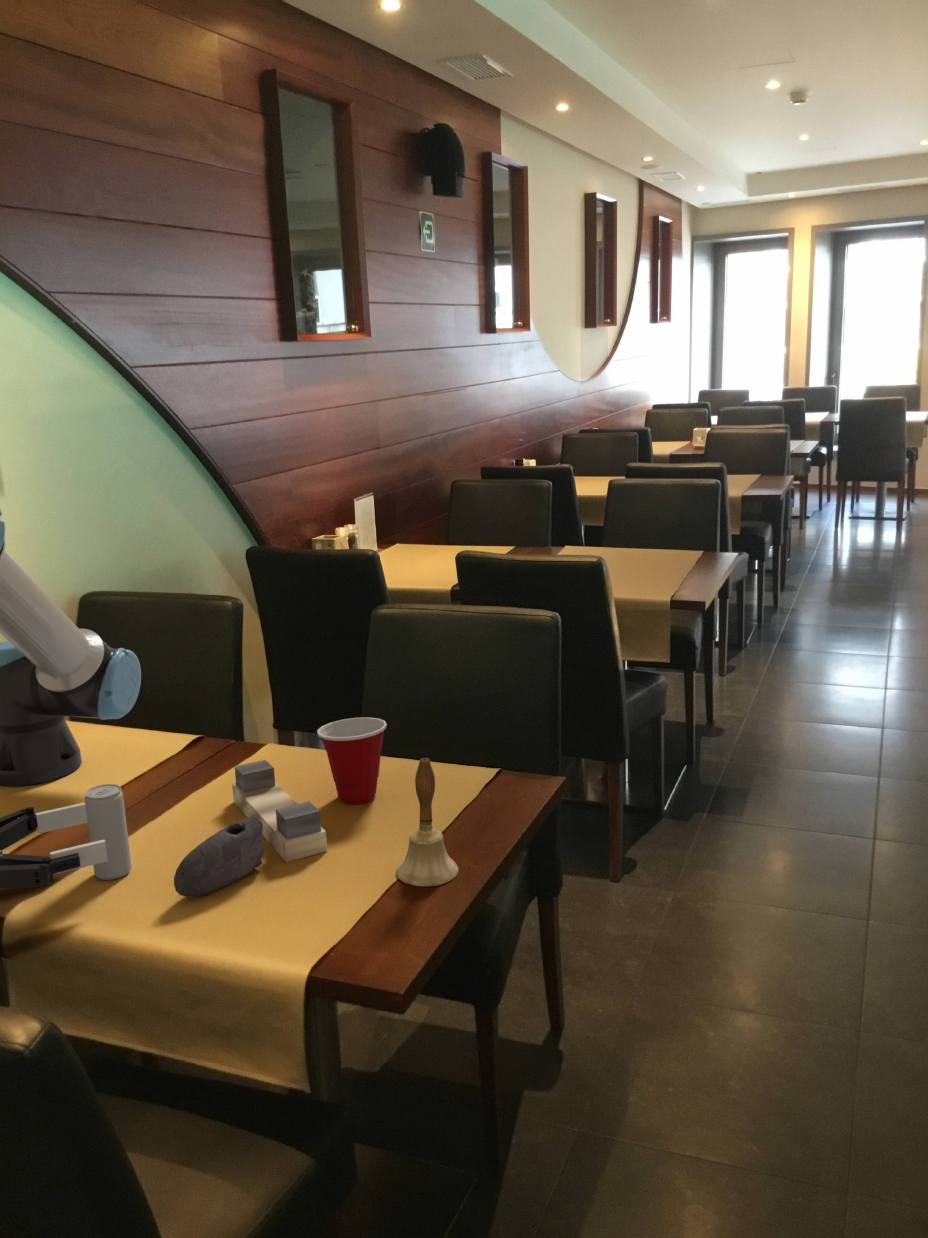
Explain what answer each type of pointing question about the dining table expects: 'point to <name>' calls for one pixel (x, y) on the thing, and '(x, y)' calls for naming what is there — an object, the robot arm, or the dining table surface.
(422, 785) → the hand bell
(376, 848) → the dining table surface
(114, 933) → the dining table surface
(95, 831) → the beverage can
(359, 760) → the plastic cup
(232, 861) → the perforated stone tool
